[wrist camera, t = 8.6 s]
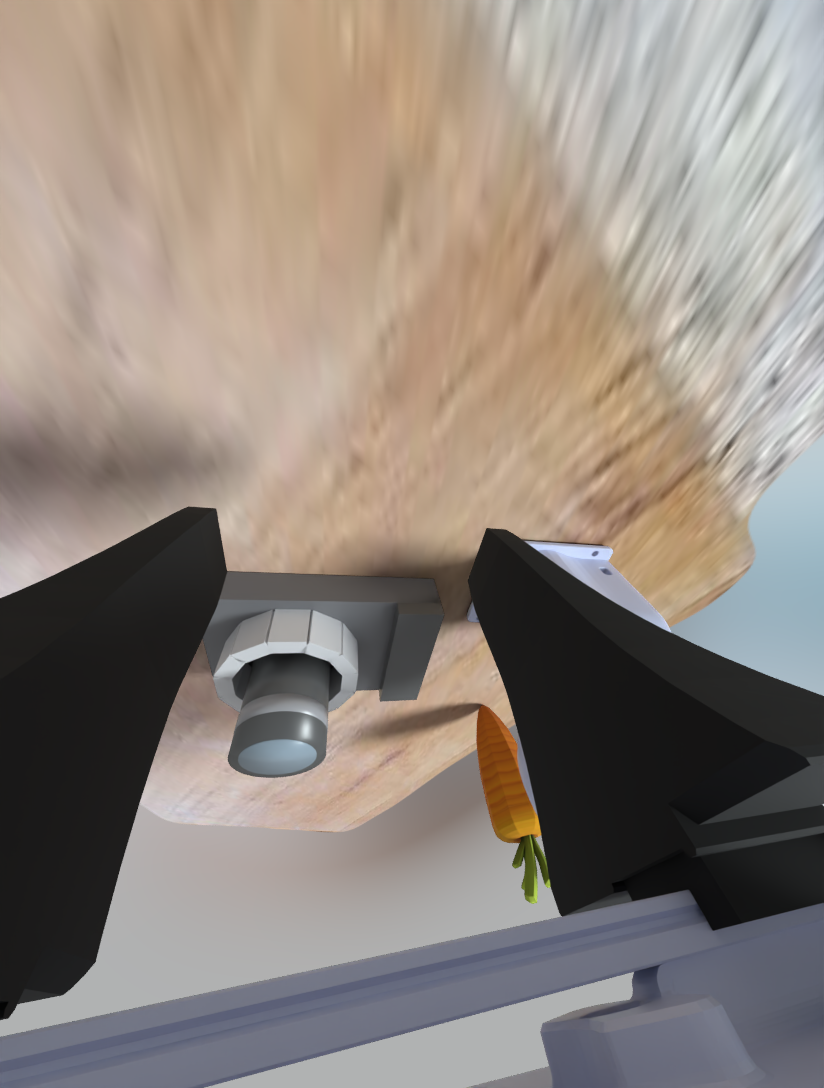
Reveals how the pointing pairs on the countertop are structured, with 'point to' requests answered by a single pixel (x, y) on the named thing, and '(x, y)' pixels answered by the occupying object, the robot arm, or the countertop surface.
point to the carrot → (509, 798)
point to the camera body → (326, 630)
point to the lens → (282, 716)
